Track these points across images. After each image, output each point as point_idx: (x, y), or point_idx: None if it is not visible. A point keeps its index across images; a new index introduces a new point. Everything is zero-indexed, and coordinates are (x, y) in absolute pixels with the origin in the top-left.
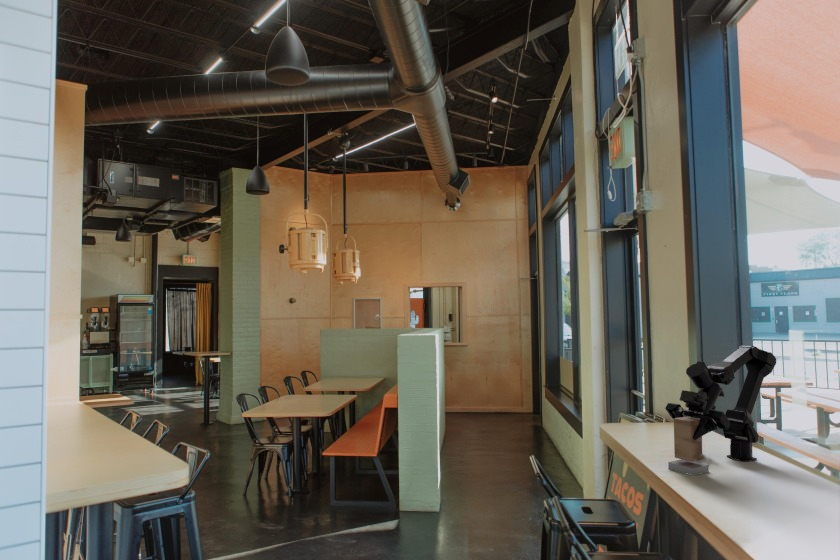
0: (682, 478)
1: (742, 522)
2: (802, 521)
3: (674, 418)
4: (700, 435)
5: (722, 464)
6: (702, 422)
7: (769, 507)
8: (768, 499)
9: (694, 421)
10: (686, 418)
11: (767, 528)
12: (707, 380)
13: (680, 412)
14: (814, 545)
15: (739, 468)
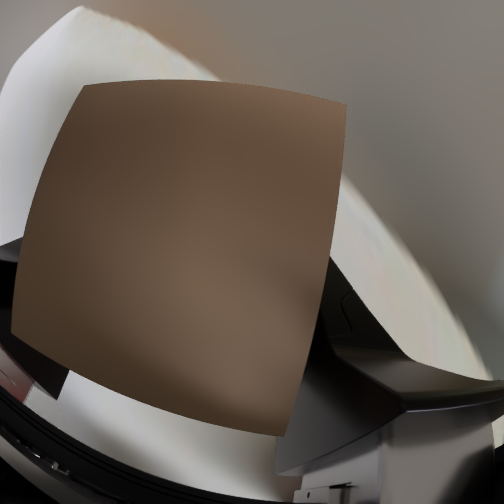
0: None
1: (71, 40)
2: (7, 112)
3: (331, 101)
4: None
5: (185, 451)
6: (3, 252)
7: (27, 123)
8: (22, 167)
9: (48, 177)
10: (171, 258)
11: (48, 52)
12: None
13: (383, 409)
14: (21, 61)
15: (128, 433)
